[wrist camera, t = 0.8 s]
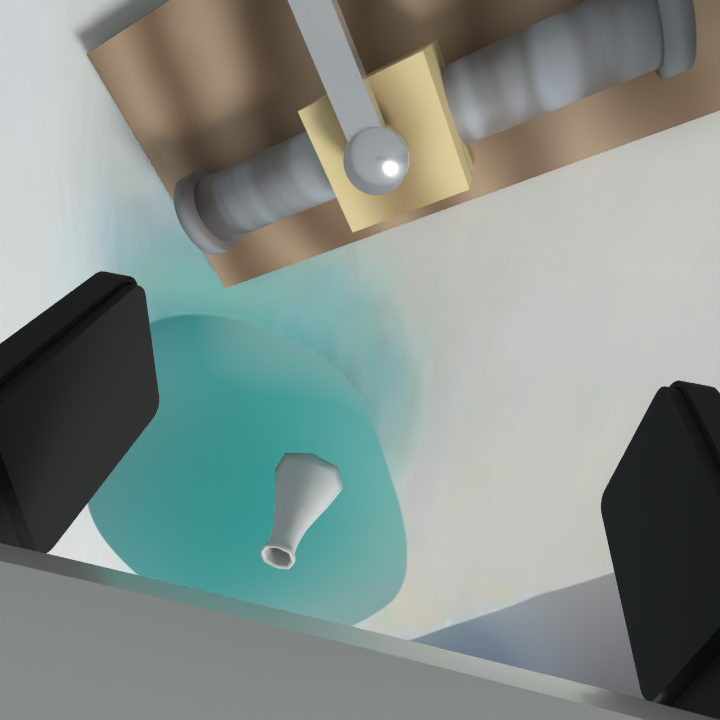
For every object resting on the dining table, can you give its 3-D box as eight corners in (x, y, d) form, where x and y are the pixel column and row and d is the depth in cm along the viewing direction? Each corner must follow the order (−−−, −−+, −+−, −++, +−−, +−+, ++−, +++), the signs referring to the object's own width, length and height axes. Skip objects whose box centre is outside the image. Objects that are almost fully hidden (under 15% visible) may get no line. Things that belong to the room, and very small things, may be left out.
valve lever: (420, 174, 28) (416, 183, 27) (364, 196, 29) (358, 205, 28) (277, -208, 21) (263, -221, 20) (213, -159, 23) (195, -168, 21)
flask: (278, 442, 55) (239, 520, 47) (348, 461, 54) (320, 543, 46) (274, 490, 59) (237, 570, 51) (339, 509, 59) (312, 592, 50)
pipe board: (692, -329, 24) (782, -483, 16) (736, 96, 31) (812, 131, 24) (100, 51, 38) (-4, 68, 30) (232, 280, 46) (177, 339, 38)
